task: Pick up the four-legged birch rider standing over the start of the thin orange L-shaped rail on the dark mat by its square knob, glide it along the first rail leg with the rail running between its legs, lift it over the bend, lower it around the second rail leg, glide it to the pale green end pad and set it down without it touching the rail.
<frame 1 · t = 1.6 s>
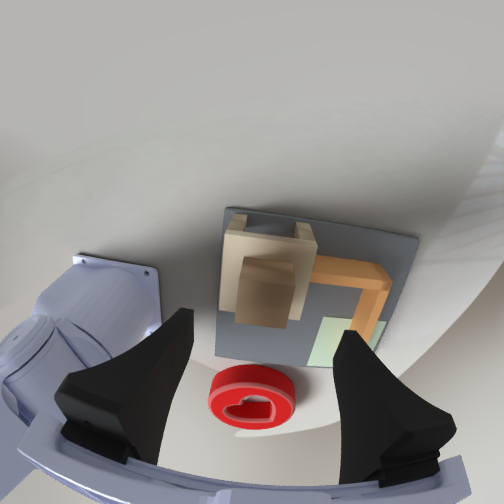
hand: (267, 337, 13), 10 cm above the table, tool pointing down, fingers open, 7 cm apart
mat: (310, 303, 24), on the table
end pad: (344, 340, 26), resting on mat
decorative ornament: (253, 388, 30), on the table
rider: (266, 252, 22), point 1 cm above the table, touching mat
rail: (372, 264, 22), resting on mat
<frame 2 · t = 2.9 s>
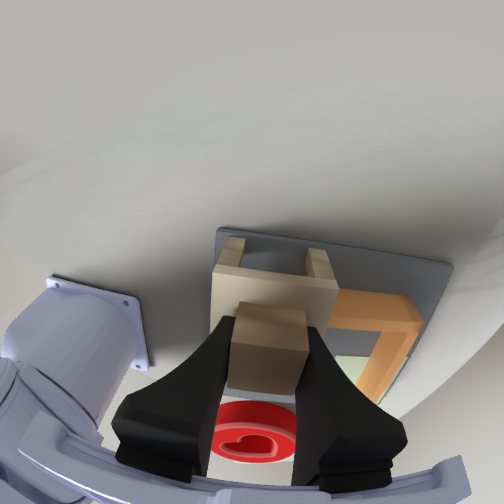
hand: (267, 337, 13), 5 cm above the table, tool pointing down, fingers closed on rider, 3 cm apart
mat: (321, 340, 19), on the table
end pad: (358, 377, 21), resting on mat
decorative ornament: (253, 422, 26), on the table
rider: (270, 285, 17), point 1 cm above the table, touching gripper, mat
rail: (397, 295, 17), resting on mat
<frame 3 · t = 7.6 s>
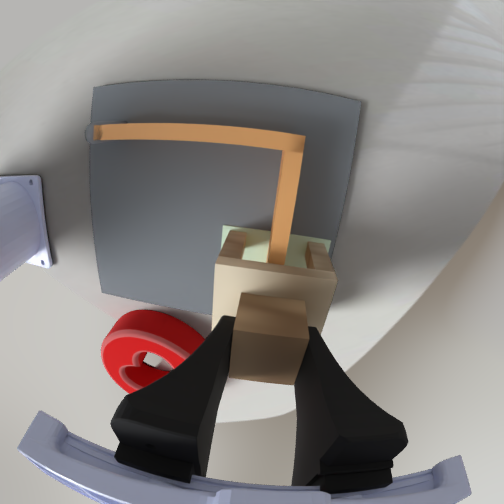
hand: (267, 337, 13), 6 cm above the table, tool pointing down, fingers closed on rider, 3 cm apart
mat: (204, 206, 17), on the table
end pad: (270, 274, 18), resting on mat
decorative ornament: (163, 351, 23), on the table
rider: (270, 278, 18), point 1 cm above the table, touching end pad, gripper
rail: (290, 140, 15), resting on mat
when the fingers open (6 cm above the table, at t = 7.9 s): rider stays where it is, resting on end pad.
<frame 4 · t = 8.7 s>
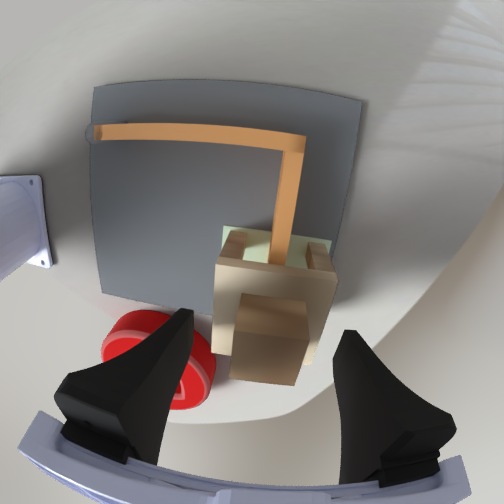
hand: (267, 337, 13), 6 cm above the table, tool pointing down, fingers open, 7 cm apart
mat: (205, 206, 17), on the table
end pad: (270, 275, 18), resting on mat
decorative ornament: (163, 351, 23), on the table
rider: (271, 278, 18), point 1 cm above the table, touching end pad
rail: (291, 140, 15), resting on mat
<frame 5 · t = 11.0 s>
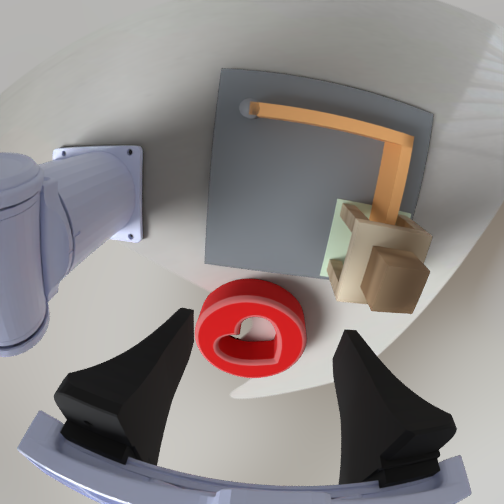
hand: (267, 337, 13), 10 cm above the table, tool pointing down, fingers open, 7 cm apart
mat: (320, 183, 20), on the table
end pad: (364, 241, 21), resting on mat
decorative ornament: (252, 320, 26), on the table
rider: (367, 243, 21), point 1 cm above the table, touching end pad
rail: (387, 137, 18), resting on mat
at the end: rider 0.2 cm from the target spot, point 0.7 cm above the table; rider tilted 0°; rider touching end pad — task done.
